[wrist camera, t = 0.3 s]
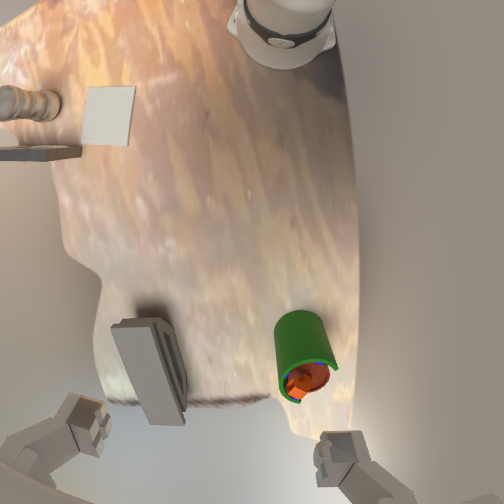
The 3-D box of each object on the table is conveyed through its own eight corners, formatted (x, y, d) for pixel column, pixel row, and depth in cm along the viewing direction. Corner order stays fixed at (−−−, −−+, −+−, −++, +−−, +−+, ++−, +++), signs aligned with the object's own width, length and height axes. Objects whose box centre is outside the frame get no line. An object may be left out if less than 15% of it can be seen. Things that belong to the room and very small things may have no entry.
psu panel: (17, 144, 52) (-20, 148, 40) (82, 145, 52) (46, 147, 41) (16, 155, 53) (-21, 161, 41) (81, 157, 53) (45, 161, 42)
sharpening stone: (192, 392, 69) (184, 425, 59) (161, 392, 70) (150, 424, 60) (165, 298, 62) (149, 326, 51) (130, 301, 62) (110, 328, 52)
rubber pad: (89, 88, 49) (87, 87, 48) (136, 87, 49) (135, 86, 49) (82, 144, 52) (80, 144, 52) (128, 146, 53) (126, 146, 52)
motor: (304, 356, 65) (317, 425, 46) (265, 343, 64) (267, 413, 45) (327, 317, 62) (350, 383, 43) (287, 303, 61) (297, 368, 42)
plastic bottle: (59, 125, 51) (-9, 124, 32) (36, 120, 50) (-32, 120, 31) (67, 93, 49) (1, 82, 30) (43, 90, 49) (-23, 81, 30)
